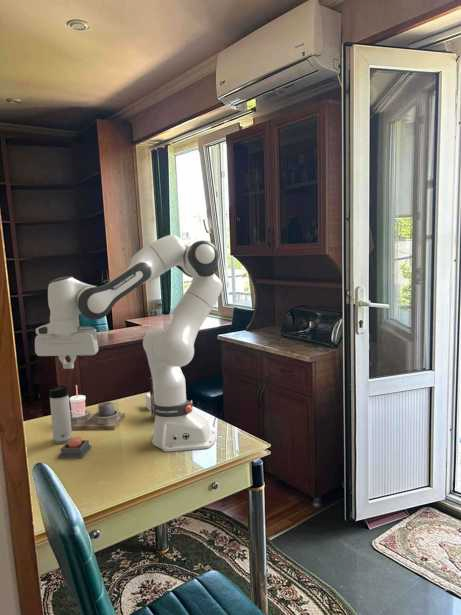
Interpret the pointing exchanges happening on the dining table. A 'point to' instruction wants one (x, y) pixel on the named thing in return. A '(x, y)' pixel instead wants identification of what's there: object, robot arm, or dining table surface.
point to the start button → (74, 442)
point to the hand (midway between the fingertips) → (68, 368)
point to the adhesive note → (148, 401)
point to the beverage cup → (77, 404)
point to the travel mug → (60, 414)
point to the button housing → (75, 450)
